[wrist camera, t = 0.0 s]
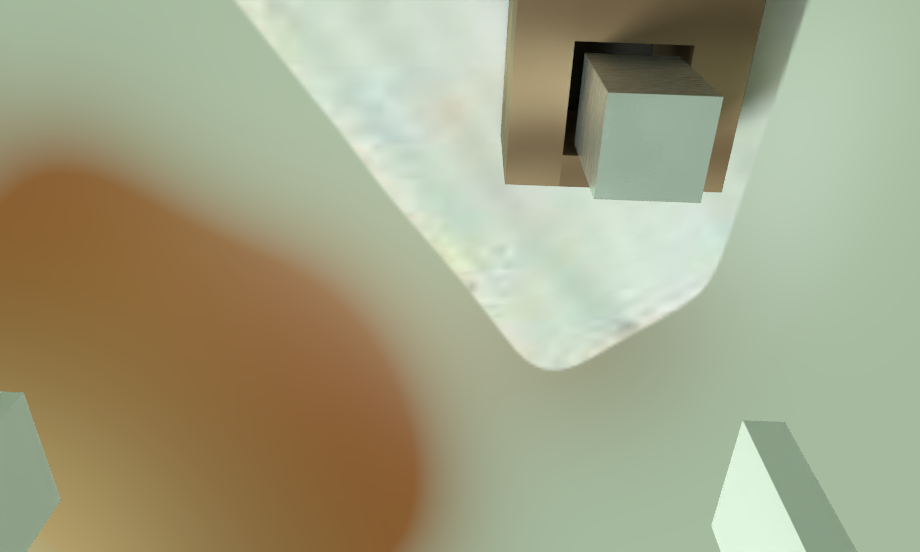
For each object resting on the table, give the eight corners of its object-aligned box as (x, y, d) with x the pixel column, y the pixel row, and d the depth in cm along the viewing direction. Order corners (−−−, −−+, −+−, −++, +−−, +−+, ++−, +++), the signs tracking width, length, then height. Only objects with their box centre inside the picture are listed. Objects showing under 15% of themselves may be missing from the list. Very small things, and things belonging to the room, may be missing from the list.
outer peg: (584, 52, 30) (608, 92, 25) (679, 56, 30) (723, 96, 25) (574, 143, 32) (593, 198, 27) (663, 146, 32) (700, 202, 27)
